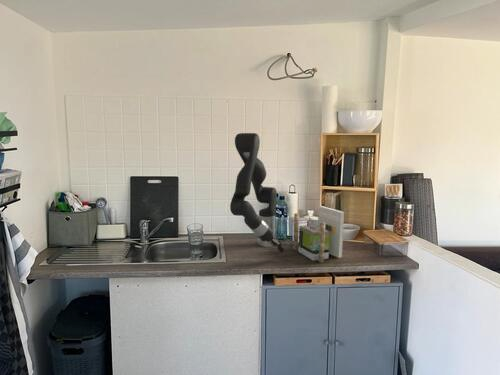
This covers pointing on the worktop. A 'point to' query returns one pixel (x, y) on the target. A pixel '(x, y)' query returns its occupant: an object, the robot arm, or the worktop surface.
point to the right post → (321, 242)
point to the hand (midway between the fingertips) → (282, 250)
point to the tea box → (312, 241)
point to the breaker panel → (333, 228)
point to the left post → (296, 231)
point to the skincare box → (313, 221)
